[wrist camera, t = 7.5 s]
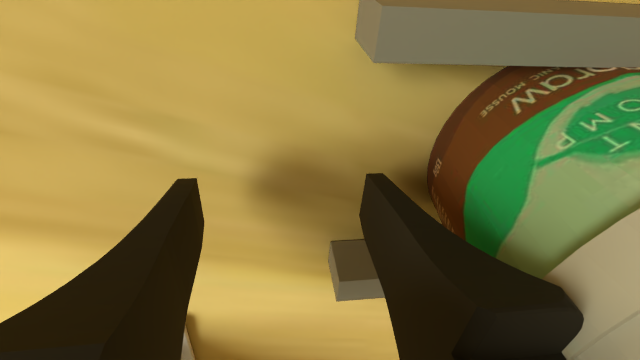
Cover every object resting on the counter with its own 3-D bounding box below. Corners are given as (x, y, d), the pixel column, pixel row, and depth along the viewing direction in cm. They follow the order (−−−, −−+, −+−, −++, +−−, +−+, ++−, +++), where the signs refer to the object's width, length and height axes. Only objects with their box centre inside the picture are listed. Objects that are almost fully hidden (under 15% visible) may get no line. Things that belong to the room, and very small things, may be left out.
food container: (676, -64, 12) (1571, -18, 4) (665, 85, 15) (1112, 272, 7) (350, 127, 14) (469, 396, 6) (406, 217, 18) (527, 462, 10)
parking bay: (589, 244, 21) (630, 285, 19) (328, 260, 19) (338, 310, 17) (763, 10, 14) (869, 31, 11) (360, -11, 11) (387, 10, 9)
